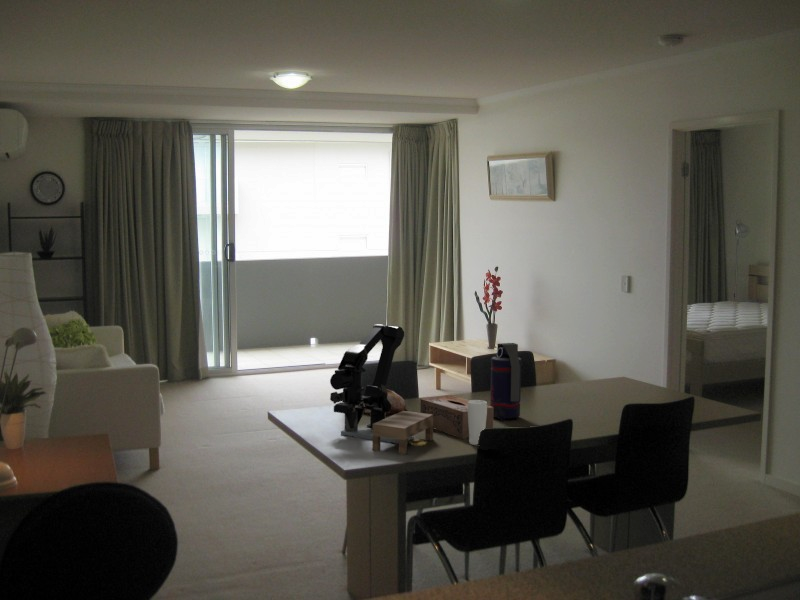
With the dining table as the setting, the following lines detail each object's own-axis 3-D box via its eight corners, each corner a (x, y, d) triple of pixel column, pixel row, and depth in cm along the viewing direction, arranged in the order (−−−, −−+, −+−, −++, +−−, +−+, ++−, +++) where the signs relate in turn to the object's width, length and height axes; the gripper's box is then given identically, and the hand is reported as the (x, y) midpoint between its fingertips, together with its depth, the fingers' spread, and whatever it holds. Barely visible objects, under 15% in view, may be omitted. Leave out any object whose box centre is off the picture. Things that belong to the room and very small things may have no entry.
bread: (352, 413, 341) (351, 388, 340) (390, 406, 353) (389, 383, 353) (376, 418, 328) (375, 393, 328) (414, 411, 340) (413, 387, 340)
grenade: (484, 415, 335) (486, 341, 332) (510, 413, 339) (512, 340, 336) (501, 423, 322) (503, 346, 319) (528, 420, 326) (530, 345, 324)
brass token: (413, 441, 295) (413, 437, 294) (429, 443, 292) (429, 439, 292) (406, 445, 289) (406, 441, 289) (422, 447, 287) (422, 443, 286)
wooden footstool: (402, 435, 302) (403, 410, 301) (432, 439, 297) (433, 414, 296) (372, 450, 282) (372, 424, 281) (404, 454, 276) (404, 428, 275)
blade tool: (349, 431, 306) (349, 410, 306) (413, 440, 294) (414, 419, 294) (341, 434, 301) (341, 413, 300) (405, 444, 289) (406, 422, 288)
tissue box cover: (420, 424, 320) (420, 398, 319) (449, 419, 328) (450, 394, 327) (462, 439, 299) (463, 411, 298) (492, 433, 307) (493, 407, 306)
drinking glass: (469, 440, 296) (470, 399, 294) (487, 442, 294) (488, 400, 292) (465, 445, 289) (466, 403, 288) (484, 447, 287) (485, 404, 286)
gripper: (348, 378, 312) (347, 419, 314) (321, 387, 296) (320, 430, 297) (374, 381, 307) (373, 423, 309) (347, 390, 291) (347, 434, 292)
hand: (353, 427), depth 302 cm, fingers closed on blade tool, 2 cm apart
